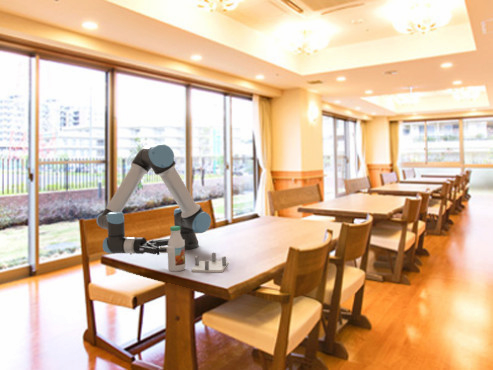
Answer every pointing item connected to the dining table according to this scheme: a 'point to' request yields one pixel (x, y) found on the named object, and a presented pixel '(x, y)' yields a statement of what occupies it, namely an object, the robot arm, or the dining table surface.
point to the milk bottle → (176, 250)
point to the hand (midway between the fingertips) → (179, 246)
